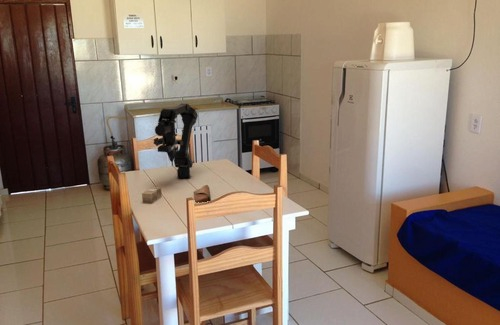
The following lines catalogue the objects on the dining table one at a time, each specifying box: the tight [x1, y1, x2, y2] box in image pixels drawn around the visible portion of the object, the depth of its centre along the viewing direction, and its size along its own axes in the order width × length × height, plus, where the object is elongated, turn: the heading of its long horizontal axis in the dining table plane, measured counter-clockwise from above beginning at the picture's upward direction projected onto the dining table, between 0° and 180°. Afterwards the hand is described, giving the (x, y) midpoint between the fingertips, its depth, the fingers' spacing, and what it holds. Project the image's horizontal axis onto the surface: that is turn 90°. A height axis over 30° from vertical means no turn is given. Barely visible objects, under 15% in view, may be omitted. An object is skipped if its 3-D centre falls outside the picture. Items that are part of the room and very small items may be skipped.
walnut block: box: [141, 186, 162, 205], centre depth 214 cm, size 5×5×10 cm
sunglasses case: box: [193, 184, 211, 204], centre depth 217 cm, size 18×7×7 cm
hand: (171, 161), depth 234 cm, fingers closed
